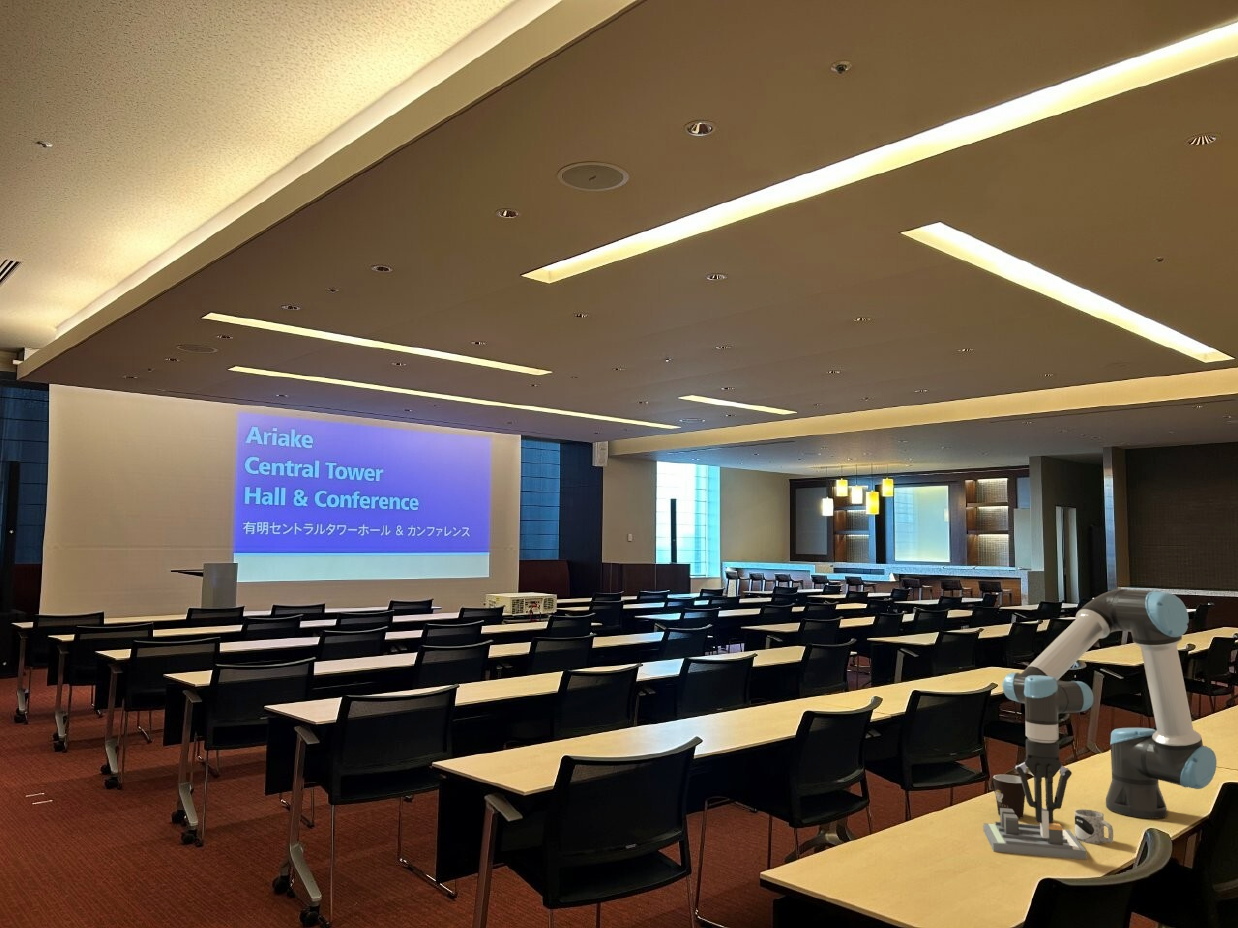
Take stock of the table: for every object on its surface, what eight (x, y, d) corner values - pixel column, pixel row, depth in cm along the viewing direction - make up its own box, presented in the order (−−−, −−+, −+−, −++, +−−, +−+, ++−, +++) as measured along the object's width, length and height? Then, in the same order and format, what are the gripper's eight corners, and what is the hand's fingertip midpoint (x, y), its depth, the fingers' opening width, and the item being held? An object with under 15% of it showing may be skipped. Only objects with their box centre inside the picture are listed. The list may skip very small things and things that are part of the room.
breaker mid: (1016, 832, 227) (1015, 814, 228) (1018, 836, 224) (1018, 818, 225) (1003, 831, 228) (1003, 813, 228) (1006, 835, 225) (1005, 817, 225)
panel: (1069, 837, 230) (1069, 827, 230) (1086, 859, 215) (1086, 848, 215) (983, 830, 235) (983, 820, 235) (993, 851, 220) (993, 839, 220)
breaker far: (1012, 826, 232) (1012, 808, 233) (1015, 830, 229) (1014, 812, 230) (1000, 825, 233) (999, 807, 233) (1002, 829, 230) (1002, 811, 230)
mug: (1069, 836, 231) (1068, 810, 232) (1087, 833, 234) (1086, 807, 234) (1103, 849, 222) (1102, 822, 222) (1122, 846, 225) (1121, 819, 225)
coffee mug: (1031, 821, 244) (1030, 783, 244) (997, 818, 245) (996, 781, 246) (1020, 808, 255) (1019, 772, 256) (988, 806, 257) (988, 770, 258)
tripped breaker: (1059, 842, 220) (1059, 823, 221) (1063, 846, 217) (1062, 827, 218) (1046, 841, 221) (1046, 822, 221) (1049, 845, 218) (1049, 826, 218)
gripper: (1066, 737, 224) (1069, 833, 222) (1011, 734, 227) (1013, 828, 225) (1074, 744, 217) (1077, 843, 215) (1016, 740, 220) (1019, 838, 218)
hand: (1044, 836), depth 220 cm, fingers closed
